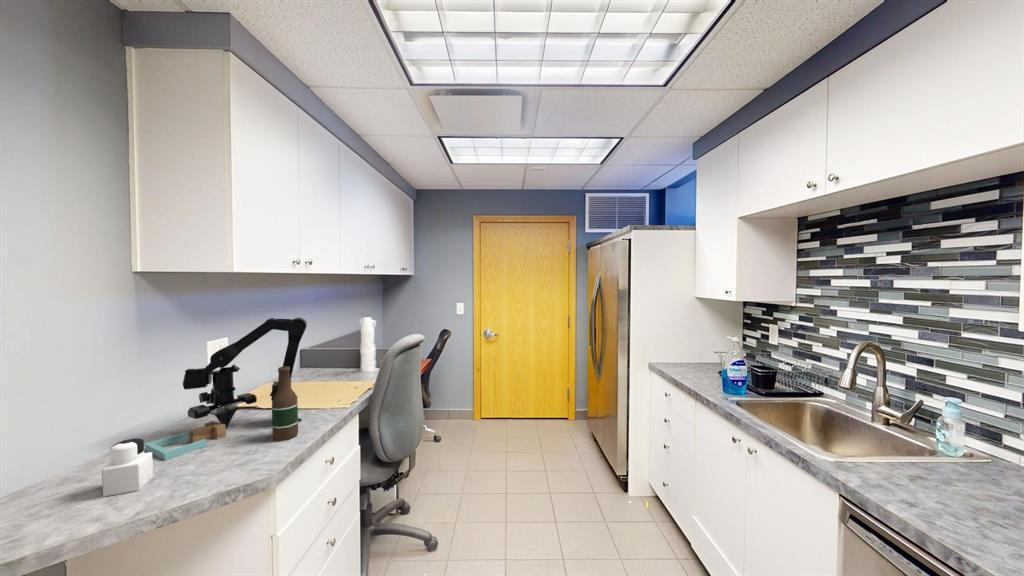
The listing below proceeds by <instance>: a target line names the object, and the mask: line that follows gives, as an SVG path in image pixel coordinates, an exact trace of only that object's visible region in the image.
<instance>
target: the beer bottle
mask: <svg viewBox="0 0 1024 576" xmlns="http://www.w3.org/2000/svg"><path fill="white" fill-rule="evenodd" d="M289 370H290V367H288V366H283V365H282V366H279V367H278V368H277V373H278V378H277V379H278V380H277V382H278V391H277V393H276V395H275V396H274V399H273V401H272V400H271V420H272V421H271V424H272V425H271V426H272V428H271V429H272V431H271V432H272V440H273V441H276V442H283V441H285V442H286V441H290V440H293V439H295V438H297V437H298V433H299V422H298V418H299V411H298V410H299V409H298V407H299V406H298V404H299V403H298V395H297V394H296V393H295V391H294V390H293V389H292V382H291V383H290V373H289Z"/></svg>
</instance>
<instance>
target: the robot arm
mask: <svg viewBox="0 0 1024 576" xmlns="http://www.w3.org/2000/svg"><path fill="white" fill-rule="evenodd" d="M307 327H308V322H307V320H306V319H305V318H303V317H300V316H298V317H294V318H292V319H291V318H274V317H270V318H268V319H266V320H265V321H264V322H263V323H261V325H259V326H257V327H255V328H254V329H252V331H250V332H249V333H247V334H246V335H244V336H243V337H241V338H240V339H239V340H237V341H235V342H233V343H230V344H229V345H227V346H224V347H222V348H220V349H218V350H217V351H215V352H214V353H213V354H211V356H210V359H209V361H210V362H209V363H208V365H206V366H205V367H200V368H186V369H185V371H184V372H185V373H184V376H183V380H182V387H183V389H184V390H186V391H187V390H195V389H201V388H203V389H205V388H207V387H208V385H210V384H211V383H212V388H210V389H211V390H210V393H209V392H207V391H205V392H200V393H199V394H198V397H199V398H198V399H199V403H200V404H199V405H196V406H192V407H189V408H188V410H187V417H188V418H191V419H194V420H197V419H201V418H202V419H203V418H205V417H208V416H209V414H210V415H213V416H215V417H216V419H218V423H221V424H224V425H226V430H227V429H228V427H229V425H230V423H231V421H232V420H233V417H234V416H235V414H236V412H237V411H238V410H240V407H239V406H238V405H239V404H242V403H245V404H246V405H251V404H254V403H257V401H258V400H257V395H256V394H253V393H249V392H246V393H243V394H238V395H237V396H236V398H235V395H234V393H235V392H234V391H236V387H235V386H234V373H238V372H239V371H240V370H241V367H238V366H237V365H236V364H232V365H231V366H228V365H229V364H231V363H232V362H233V360H235V359H236V358H237V357H238V356H239V355H240V354H241V353H242V352H243V351H244V350H245V349H247V348H248V347H249V346H251V345H252V344H254V343H255V342H257V341H258V340H260V339H261V338H262V337H264V336H265V335H266V334H268V333H270V332H272V330H273V331H274V330H277V331H282V332H283V331H284V332H287V338H288V339H287V341H288V342H287V346H286V350H285V355H284V358H283V363H282V367H283V366H288V367H290V370H289V373H290V383H291V384H292V376H293V372H294V366H295V362H296V358H297V354H298V349H299V346H300V343H301V340H302V337H303V336H304V334H305V331H306V329H307ZM218 368H219V369H218ZM216 369H218V370H216ZM277 391H278V380H274V382H273V383H272V385H271V392H270V393H269V397H270V400H271V402H272V401H273V399H274V396H275V395H276V393H277ZM202 403H206V405H205V404H202ZM209 404H210V405H209ZM301 421H302V418H299V417H298V423H299V422H301Z"/></svg>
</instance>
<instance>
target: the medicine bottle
mask: <svg viewBox="0 0 1024 576" xmlns="http://www.w3.org/2000/svg"><path fill="white" fill-rule="evenodd" d="M109 448H110V463H108V464H107V465H106V466H104V468H102V469H101V478H102V479H101V480H102V481H101V482H102V483H101V485H102V496H103V498H104V497H111V496H117V495H121V494H123V495H124V494H128V493H133V492H139V491H140V490H141V489H143V487H145V486H146V485H147V483H149V481H150V480H152V478H154V466H153V461H154V460H153V454H152V452H145V442H144V439H142V438H129V439H124V440H121V441H118V442H116V443H115V444H113V445H112V446H111V447H109Z"/></svg>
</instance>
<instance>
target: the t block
mask: <svg viewBox="0 0 1024 576" xmlns="http://www.w3.org/2000/svg"><path fill="white" fill-rule="evenodd" d="M203 425H204V426H201V427H197V428H194V429H192V430H189V431H188V432H189V438H188V439H189V440H188V441H189V444H190V443H194V442H197V441H200V440H203V439H206V440H211V439H216V440H219V439H222V438H224V437H227V432H226V431H227V429H226V425H224V424H221V423H220V422H219V421H214V420H212V421H209V422H206V423H205V422H204V424H203Z"/></svg>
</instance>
